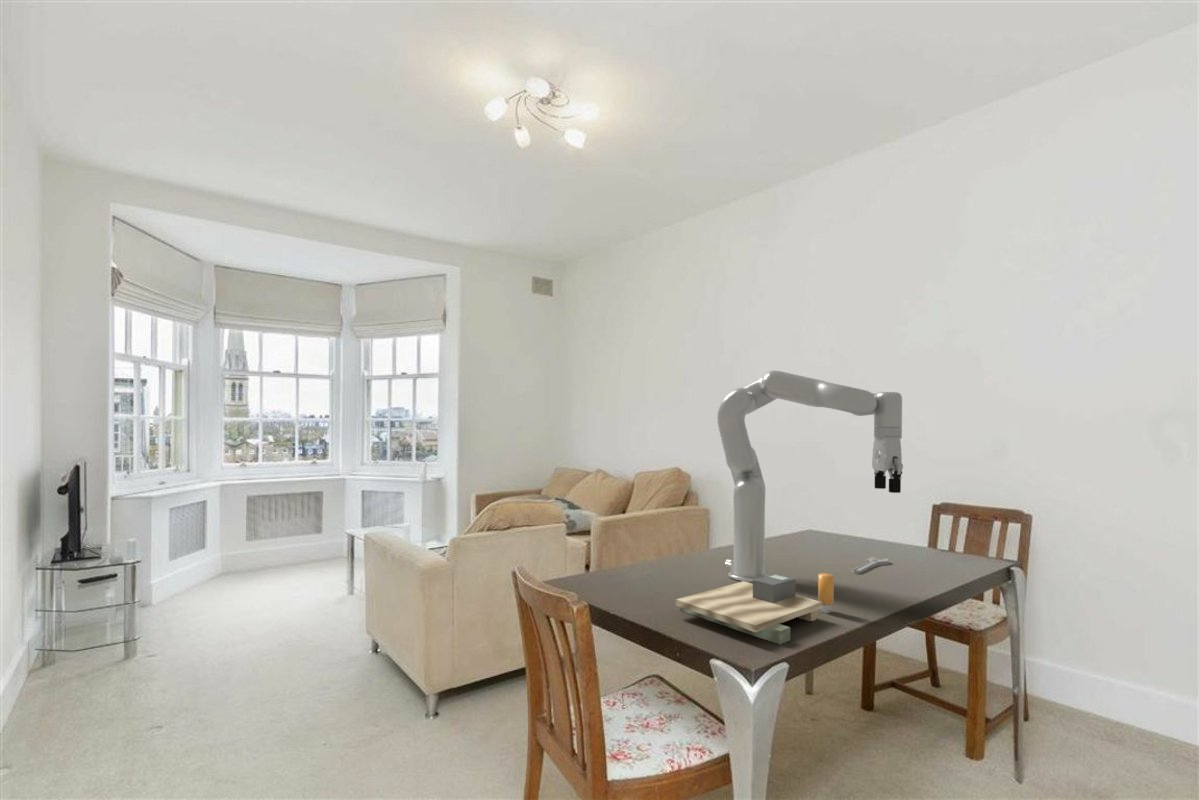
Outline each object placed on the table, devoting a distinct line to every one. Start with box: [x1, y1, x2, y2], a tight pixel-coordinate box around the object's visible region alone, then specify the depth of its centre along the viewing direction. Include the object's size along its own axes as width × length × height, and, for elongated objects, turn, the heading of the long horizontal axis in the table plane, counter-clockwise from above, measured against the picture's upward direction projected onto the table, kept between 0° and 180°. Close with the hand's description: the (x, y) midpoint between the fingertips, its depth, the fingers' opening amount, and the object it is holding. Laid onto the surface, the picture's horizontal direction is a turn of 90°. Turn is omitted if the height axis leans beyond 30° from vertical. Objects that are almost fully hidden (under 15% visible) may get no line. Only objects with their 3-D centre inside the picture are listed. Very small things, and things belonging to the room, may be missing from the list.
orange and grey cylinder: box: [817, 572, 835, 614], centre depth 159 cm, size 4×4×10 cm
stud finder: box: [752, 573, 796, 603], centre depth 156 cm, size 6×10×5 cm, turn 130°
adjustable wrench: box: [851, 556, 890, 575], centre depth 208 cm, size 25×6×2 cm, turn 132°
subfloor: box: [675, 581, 822, 646], centre depth 152 cm, size 30×28×4 cm
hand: (887, 490), depth 181 cm, fingers open, 9 cm apart
